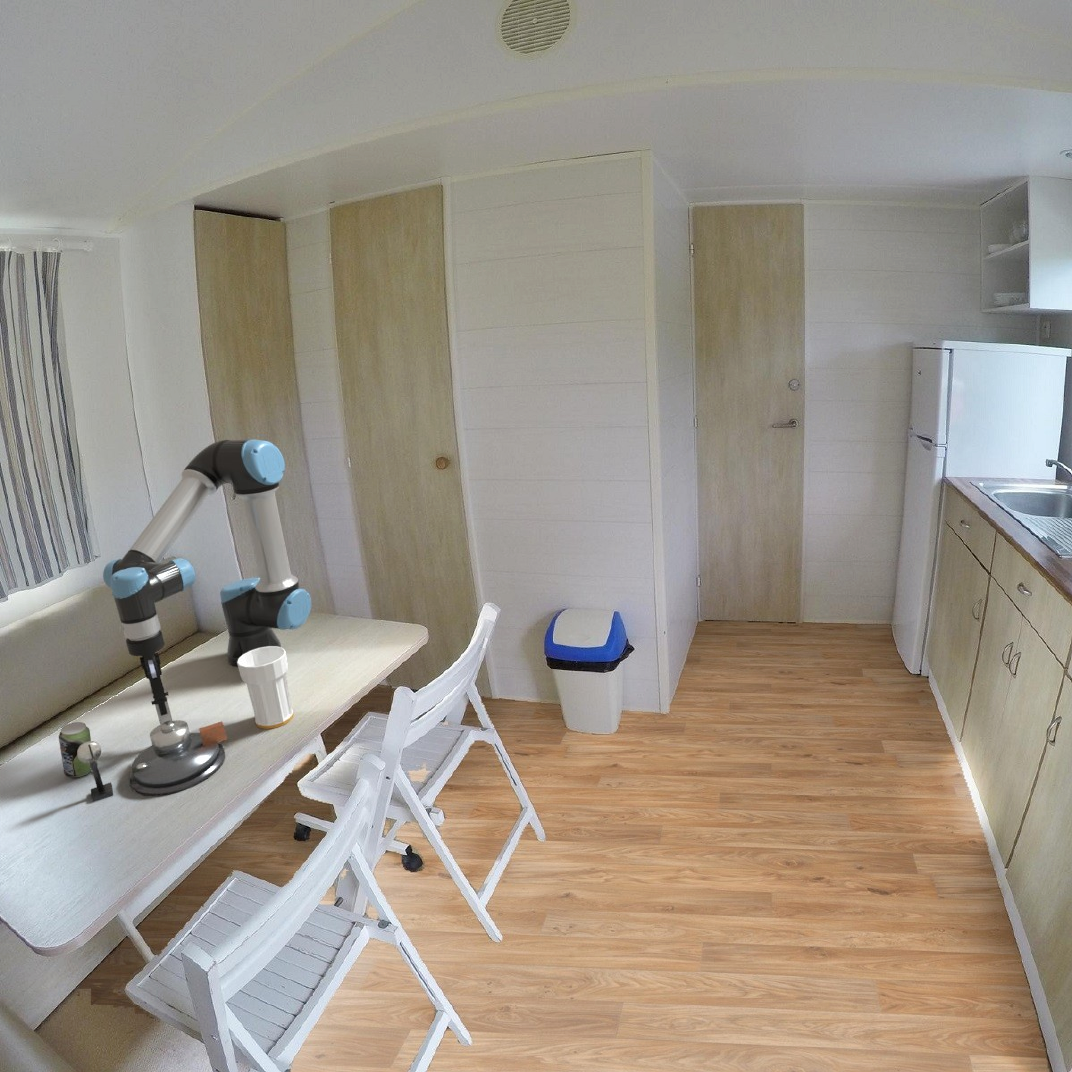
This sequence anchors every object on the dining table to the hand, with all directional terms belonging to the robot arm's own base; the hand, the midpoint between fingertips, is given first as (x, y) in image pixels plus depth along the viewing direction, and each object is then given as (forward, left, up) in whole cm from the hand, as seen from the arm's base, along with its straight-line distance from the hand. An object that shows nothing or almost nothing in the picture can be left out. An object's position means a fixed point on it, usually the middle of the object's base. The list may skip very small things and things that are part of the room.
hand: (166, 724), depth 184 cm
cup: (+5, +23, -5) cm, 25 cm away
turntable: (+13, +1, -4) cm, 14 cm away
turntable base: (+13, 0, -5) cm, 14 cm away
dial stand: (+13, -15, -5) cm, 21 cm away
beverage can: (+1, -19, -5) cm, 20 cm away
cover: (+8, 0, -2) cm, 8 cm away
